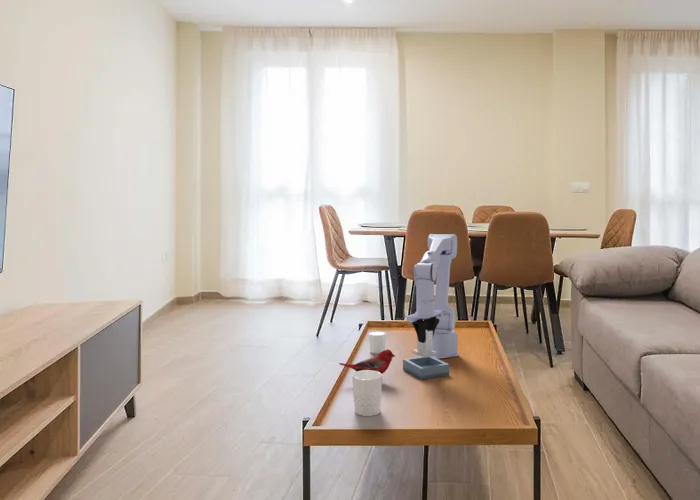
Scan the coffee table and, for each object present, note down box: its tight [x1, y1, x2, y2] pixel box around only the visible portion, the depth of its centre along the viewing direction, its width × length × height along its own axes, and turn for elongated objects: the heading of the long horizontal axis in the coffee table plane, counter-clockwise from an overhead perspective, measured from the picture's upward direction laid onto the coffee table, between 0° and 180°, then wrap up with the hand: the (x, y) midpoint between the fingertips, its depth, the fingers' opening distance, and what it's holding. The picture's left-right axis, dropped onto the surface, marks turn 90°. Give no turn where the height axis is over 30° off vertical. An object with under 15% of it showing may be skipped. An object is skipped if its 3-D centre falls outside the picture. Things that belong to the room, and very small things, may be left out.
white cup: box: [351, 370, 383, 417], centre depth 136 cm, size 8×8×10 cm
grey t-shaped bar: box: [412, 329, 437, 358], centre depth 167 cm, size 5×6×8 cm
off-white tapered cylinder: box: [368, 330, 387, 354], centre depth 193 cm, size 7×7×7 cm
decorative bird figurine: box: [338, 348, 397, 375], centre depth 159 cm, size 3×18×10 cm, turn 94°
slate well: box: [402, 356, 450, 381], centre depth 168 cm, size 10×11×4 cm
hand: (425, 341), depth 167 cm, fingers closed on grey t-shaped bar, 3 cm apart
